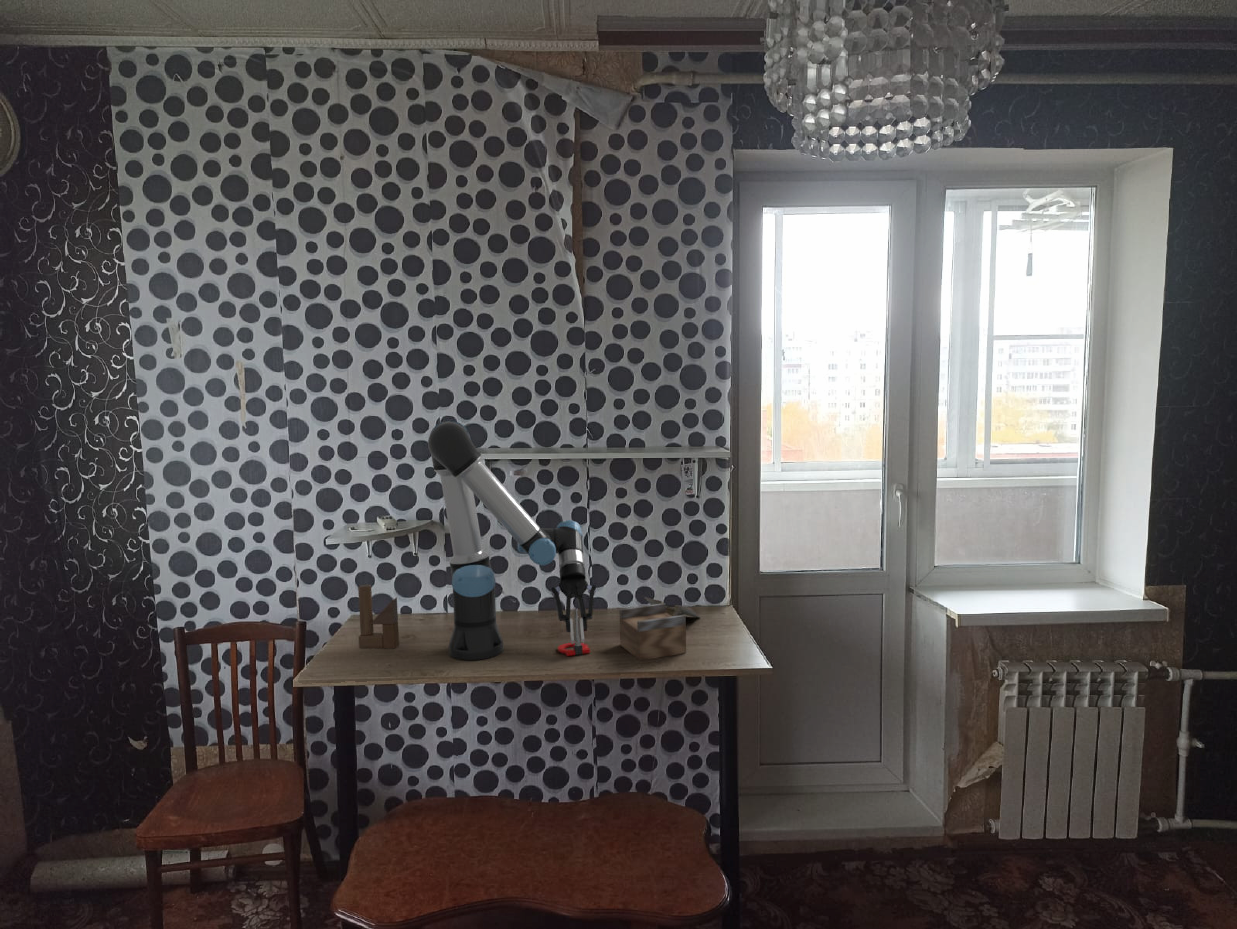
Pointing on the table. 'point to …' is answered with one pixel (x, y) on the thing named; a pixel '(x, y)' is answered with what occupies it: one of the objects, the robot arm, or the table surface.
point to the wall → (674, 609)
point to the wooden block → (377, 622)
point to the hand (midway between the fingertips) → (577, 641)
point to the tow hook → (578, 647)
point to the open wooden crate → (652, 632)
